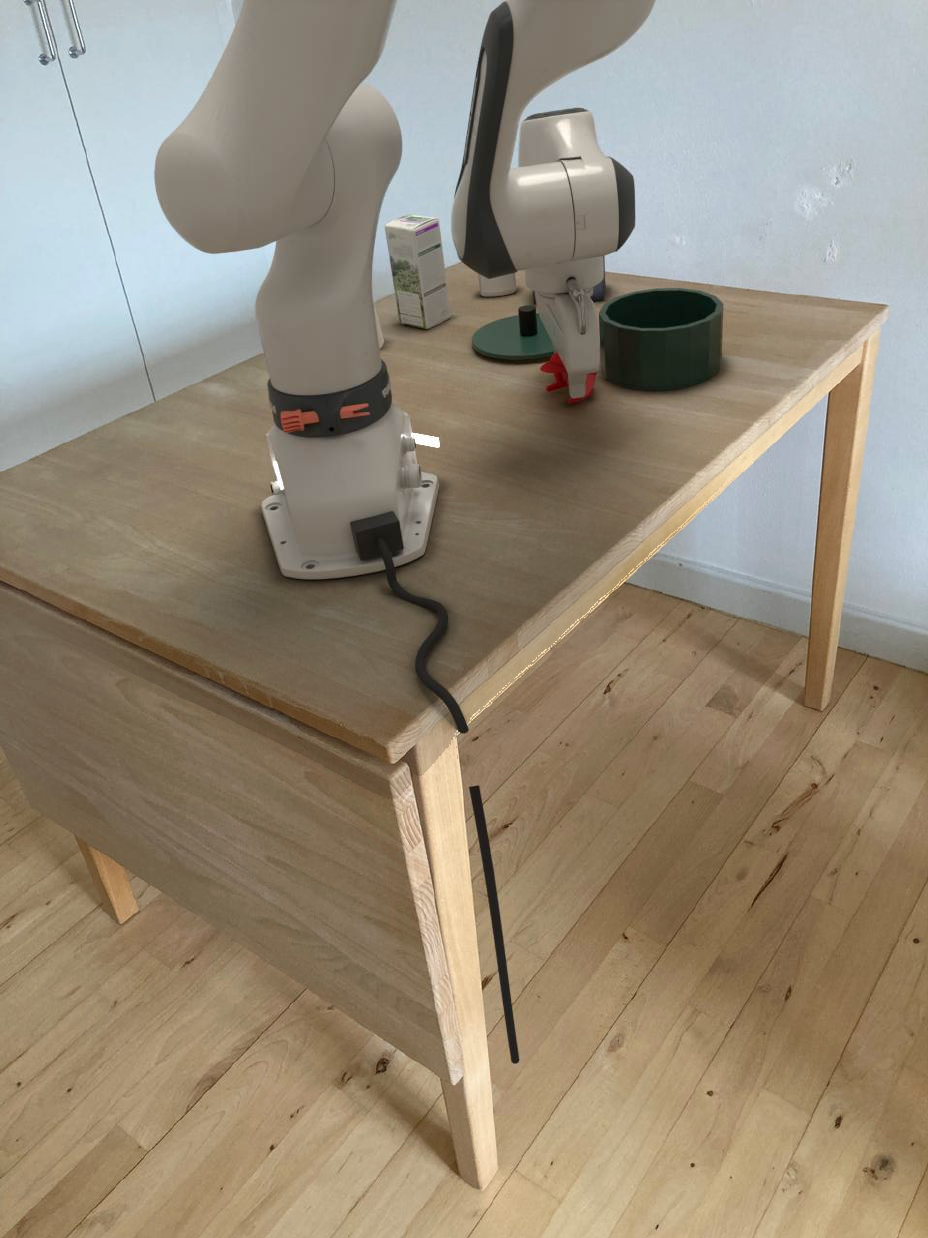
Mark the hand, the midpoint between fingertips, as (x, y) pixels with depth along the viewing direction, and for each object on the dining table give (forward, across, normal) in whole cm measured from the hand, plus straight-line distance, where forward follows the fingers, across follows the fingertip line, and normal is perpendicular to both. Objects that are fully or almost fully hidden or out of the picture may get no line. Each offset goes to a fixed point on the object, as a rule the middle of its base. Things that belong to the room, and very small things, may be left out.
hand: (570, 382), depth 124 cm
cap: (+2, 0, 0) cm, 2 cm away
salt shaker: (+2, +27, +24) cm, 36 cm away
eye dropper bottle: (+2, +42, +3) cm, 42 cm away
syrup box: (+2, +34, +15) cm, 37 cm away
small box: (+2, +36, -7) cm, 37 cm away
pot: (+2, +5, -12) cm, 14 cm away
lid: (+1, +20, +2) cm, 20 cm away
